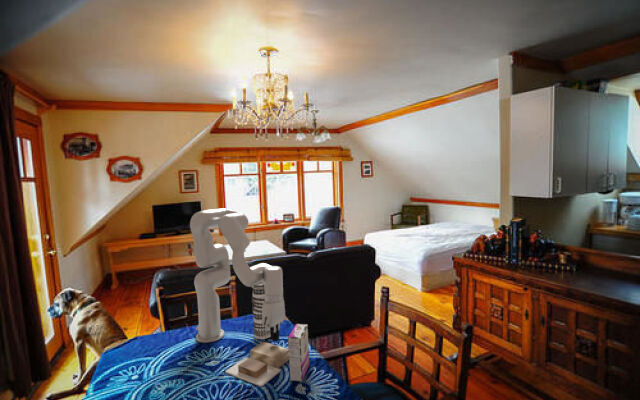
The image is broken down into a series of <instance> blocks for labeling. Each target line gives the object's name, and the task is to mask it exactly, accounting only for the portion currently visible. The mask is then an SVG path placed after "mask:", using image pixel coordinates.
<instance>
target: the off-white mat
mask: <svg viewBox="0 0 640 400" xmlns="http://www.w3.org/2000/svg"><path fill="white" fill-rule="evenodd" d="M247 359H248V357H244V358H243V359H241V360H239V362H237V363H235V364H234V365H232V366H231V367H229V368H228V369H226V370H225V374H228V375H230V376H233V377H235V378H238V379H240V380H242V381H245V382H248V383H250V384H253V385H256V386H258V387H259V388H260V387H264V385H266V384H267V383H268V382H269V381H271V380H272V379H273V378H274V377H276V375H279V373H280V372H281V371H282V370H281V369H280V368H275V367H272V366H269V365H267V371H266V372H264V373H263V374H262V375H260V376H259V377H258V378H257V379H256V378H254V377H251V376H248V375H246V374H243V373H240V372H238V365H239V364H241V363H242V362H244V361H245V360H247Z"/></svg>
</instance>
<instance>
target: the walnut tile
mask: <svg viewBox="0 0 640 400" xmlns="http://www.w3.org/2000/svg"><path fill="white" fill-rule="evenodd" d="M247 358H248V357H247ZM266 371H267V364H266V363H263V362H260V361H257V360H254V359H251V358H250V357H249V358H248V359H247V360H245V361H244V362H242V363H241V364H239V365H238V372H240V373H243V374H246V375H248V376H251V377H254V378H256V379H257V378H258V377H259V376H260V375H262V374H263V373H264V372H266Z"/></svg>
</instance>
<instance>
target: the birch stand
mask: <svg viewBox="0 0 640 400" xmlns="http://www.w3.org/2000/svg"><path fill="white" fill-rule="evenodd" d="M249 354H250V355H249V358H251V359H254V360H257V361H260V362H263V363H266V364H267V365H269V366H272V367H275V368H278V369H280V368H281V367H283V365H284V364H286V363H287V362H289V348H286V347H283V346H280V345H277V344H272V343H270V342H265V341H262V342H260V343H259V344H257V345H256V346H254V347H252V348H251V349H249Z"/></svg>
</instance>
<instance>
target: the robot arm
mask: <svg viewBox="0 0 640 400" xmlns="http://www.w3.org/2000/svg"><path fill="white" fill-rule="evenodd" d="M248 226H249V219H248V217H247V215H245V214H244V213H243V212H241V211H236V210H232V209H227V208H224V207H223V208H213V209H212V208H211V209H205V210H200V211H198V212H195V213H194V214H193V215H192V216H191V219H190V222H189V227H190V231H191V234H192V239H193V247H194V248H193V249H194V256H195V257H194V259H195V263H196V265H197V267H199V268H202V269H203V268H204V269H205V268H207V269H206V270H203V271H200V272H199V273H197V274H196V275H195V277H194V281H193V282H194V283H193V284H194V287H195V288H194V289H195V292H196V297H197V310H198V311H197V313H198V315H197V316H198V324H197V326H195V330H196V331H197V332H198V333H197V334H196V336H195V338H196V339H195V340H196V341H197V342H199V343H205V344H207V343H213V342H217V341H219V340H220V339H222V338H223V337H224V336H225V331H224V329H222V328H221V327H222V325H221V310H220V309H221V308H220V297H219V294H218V293H217V292H216V289H217V288H219V287H222V286H225V285H226V284H228V283H229V281H230V279H231V265H230V256H229V255H230V254H229V252H228V249H227V248H226V246H225V245H224V244H222V243H215V244H214V237H213V235H212V232H210V230H209V229H214V228H218V229H219V231H220V232H221V234H222V236H223V238H224V239H225V241H226V242H227V243H228V245H229V246H230V249H231V250H232V256H231V262H232V268H233V271H234V273H235V275H236V276H237V278H238V279H239V281H240V282H241V283H242V284H243V285H244V286H246V287H248V288H249V287H250V288H252V286H254V285H256V284H258V283H260V282H264V291H265V302H264V303H263V309H262V325H263V326H264V325H265V330H266V331H270V332H271V336H270V341H272V342H278V341H279V340H280V330H281V325H282V324H283V322H284V321H285V318H286V308H285V307H286V305H285V300H284V299H285V298H284V287H283V285H284V283H283V282H284V280H283V276H284V274H283V268H282V267H281V266H278V265H270V264H268V263H264V262H261V263H260V262H259V263H258V264H255V265H252V266H249V265H248V263H247V261H246V259H245V251H246V249H247V248H248V247H249V246H250V244H251V240H250V238H249V236H248V235H247V233H246V232H245V230H246V229H248ZM212 266H213V267H212ZM209 267H212V268H209Z"/></svg>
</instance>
